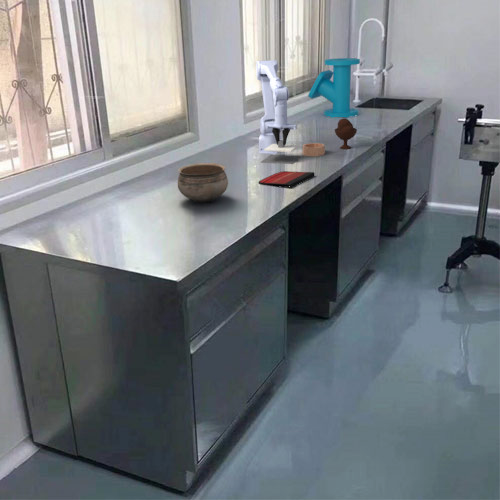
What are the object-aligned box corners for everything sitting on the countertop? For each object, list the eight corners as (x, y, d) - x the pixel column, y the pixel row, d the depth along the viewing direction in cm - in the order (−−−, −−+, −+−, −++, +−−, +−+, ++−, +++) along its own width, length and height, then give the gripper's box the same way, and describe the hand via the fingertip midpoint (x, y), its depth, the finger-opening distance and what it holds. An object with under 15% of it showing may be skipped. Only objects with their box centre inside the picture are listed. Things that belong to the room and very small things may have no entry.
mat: (260, 163, 271) (260, 162, 271) (270, 155, 285) (270, 154, 285) (293, 165, 266) (293, 164, 266) (302, 157, 280) (302, 156, 280)
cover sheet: (263, 150, 270) (263, 143, 269) (272, 145, 281) (272, 137, 280) (290, 152, 266) (290, 144, 264) (298, 146, 277) (298, 138, 276)
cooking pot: (215, 212, 207) (213, 178, 203) (167, 208, 213) (164, 176, 208) (238, 192, 229) (236, 161, 224) (194, 189, 235) (191, 159, 230)
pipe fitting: (350, 118, 374) (352, 61, 360) (305, 115, 389) (305, 60, 376) (363, 112, 391) (364, 58, 378) (319, 110, 407) (319, 58, 393)
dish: (300, 156, 281) (300, 147, 279) (306, 151, 290) (306, 142, 288) (321, 157, 277) (321, 148, 276) (326, 152, 286) (326, 143, 285)
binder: (314, 171, 246) (289, 184, 230) (314, 177, 247) (290, 190, 231) (281, 169, 255) (255, 181, 239) (282, 174, 256) (256, 186, 240)
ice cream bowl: (356, 150, 288) (357, 119, 283) (333, 150, 291) (333, 120, 285) (356, 145, 298) (357, 116, 292) (334, 145, 300) (335, 116, 295)
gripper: (263, 116, 267) (263, 145, 272) (293, 116, 262) (293, 146, 267) (268, 113, 273) (268, 142, 278) (297, 114, 268) (298, 143, 273)
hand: (281, 144), depth 273 cm, fingers closed on cover sheet, 2 cm apart
